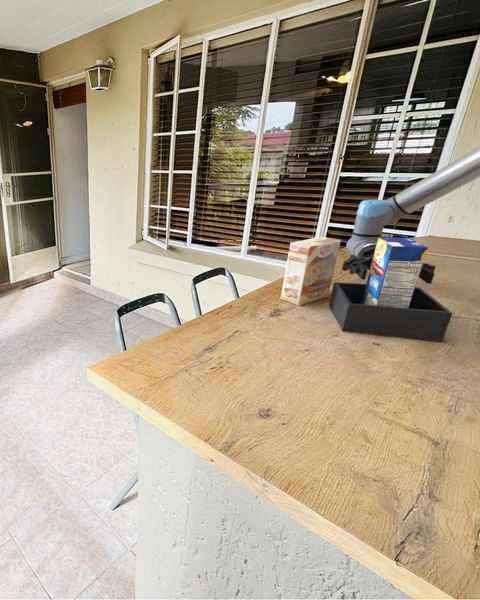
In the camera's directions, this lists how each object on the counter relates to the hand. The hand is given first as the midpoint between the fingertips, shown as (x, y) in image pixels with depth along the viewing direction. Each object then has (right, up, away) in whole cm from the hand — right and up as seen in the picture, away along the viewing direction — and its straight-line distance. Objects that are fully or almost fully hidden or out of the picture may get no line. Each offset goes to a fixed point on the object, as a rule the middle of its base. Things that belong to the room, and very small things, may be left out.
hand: (396, 276), depth 91 cm
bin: (+2, -12, +8) cm, 15 cm away
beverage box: (+2, -12, +8) cm, 14 cm away
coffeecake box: (-7, -6, +27) cm, 28 cm away
